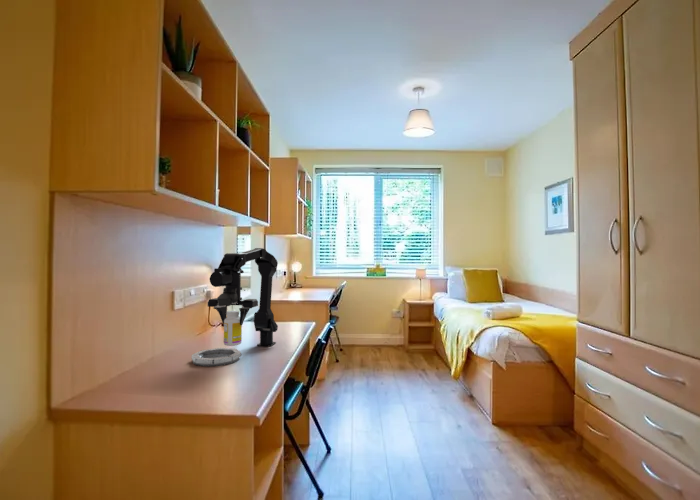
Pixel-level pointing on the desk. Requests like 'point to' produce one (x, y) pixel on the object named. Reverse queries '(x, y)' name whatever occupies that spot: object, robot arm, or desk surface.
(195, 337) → the desk surface
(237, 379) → the desk surface
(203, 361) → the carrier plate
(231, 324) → the supplement bottle
